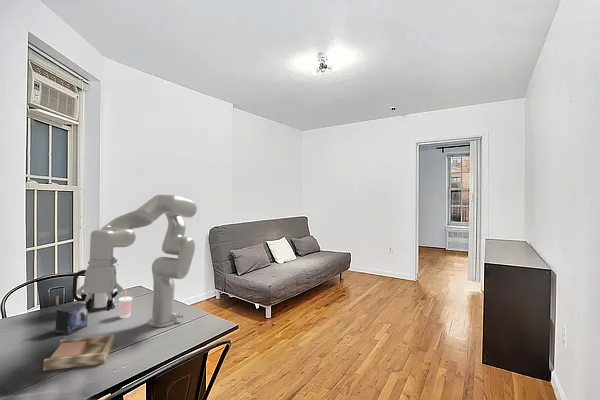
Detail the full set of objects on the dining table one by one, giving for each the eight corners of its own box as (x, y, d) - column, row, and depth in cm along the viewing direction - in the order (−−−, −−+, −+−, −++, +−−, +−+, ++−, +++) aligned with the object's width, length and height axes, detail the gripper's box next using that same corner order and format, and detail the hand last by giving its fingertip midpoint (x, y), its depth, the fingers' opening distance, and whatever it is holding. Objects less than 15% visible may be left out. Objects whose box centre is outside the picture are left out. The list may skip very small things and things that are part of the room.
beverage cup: (128, 313, 162) (129, 286, 162) (133, 316, 158) (135, 288, 158) (115, 316, 157) (117, 288, 157) (120, 319, 153) (122, 291, 153)
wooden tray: (113, 345, 128) (114, 334, 128) (104, 365, 113) (104, 353, 113) (60, 350, 122) (60, 339, 122) (43, 372, 107) (43, 360, 107)
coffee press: (97, 301, 176) (99, 248, 176) (123, 304, 174) (125, 250, 174) (70, 312, 159) (72, 253, 159) (98, 315, 157) (101, 255, 157)
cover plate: (86, 348, 123) (86, 341, 123) (76, 363, 112) (77, 354, 112) (61, 351, 120) (61, 343, 120) (49, 366, 109) (50, 357, 109)
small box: (66, 336, 134) (67, 311, 134) (54, 334, 135) (55, 309, 135) (88, 326, 144) (89, 303, 144) (76, 324, 146) (77, 302, 146)
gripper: (128, 260, 125) (126, 305, 125) (77, 261, 119) (75, 308, 120) (125, 264, 118) (123, 312, 118) (70, 265, 112) (68, 316, 113)
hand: (99, 309), depth 119 cm, fingers open, 5 cm apart
